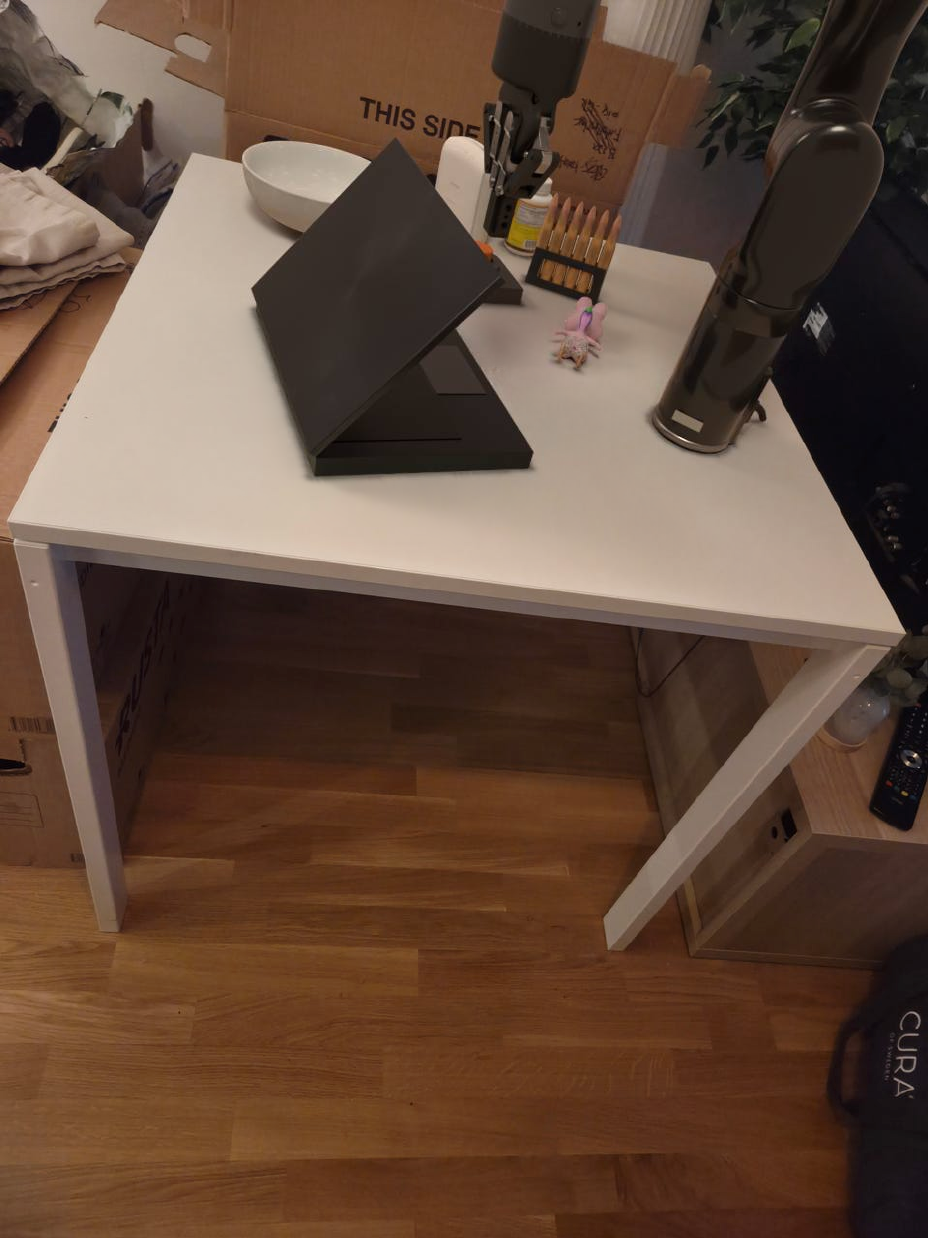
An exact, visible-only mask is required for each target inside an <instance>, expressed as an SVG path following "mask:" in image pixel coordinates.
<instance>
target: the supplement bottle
mask: <svg viewBox="0 0 928 1238" xmlns="http://www.w3.org/2000/svg"><path fill="white" fill-rule="evenodd" d="M552 185H553V179H552V178H551V177H549V178H548V179H547V180H546V182H545V183H544V184H543V185H542V186H541V188H540V189H539V190H538V191H537V193H536V194H535V195H534V196H533V198H532V199H519V200H518V201H517V205H516V209H515V213H514V217H513V220H512V224H511V228H510V232H509V235H508V236H507V237H506V238H503V245H504V247H505V248H506V249H507V251H509V252H511V253H512V254H515V255H517V256H521V257H533V254H534V250H535V247H536V243H537V240H538V236H539V233H540V229H541V226H542V224H543V222H544V219H545V216H546V214H547V211H548V208H549V205H550V203H551V200H552V199H553V197H554V196H553V195H552V194H551V189H552Z"/></svg>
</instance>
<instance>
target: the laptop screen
mask: <svg viewBox="0 0 928 1238" xmlns="http://www.w3.org/2000/svg"><path fill="white" fill-rule="evenodd" d="M505 283H506V282H505V280H504V279H503V277H502V276H501V275H500V273H499V272H498V271H497V269H496V268H495V267H494V266H493V264H492V263H491V262H490V260H489V259H488V258H487V256H486V255H485V254H484V252H483V251H482V250H481V248H480V247H479V246H478V244H477V243H476V242H475V240H474V239H473V238H472V237H471V235H470V234H469V233H468V231H467V230H466V229H465V227H464V226H463V225H462V223H461V222H460V221H459V219H458V218H457V217H456V215H455V214H454V213H453V211H452V210H451V209H450V208H449V206H448V205H447V204H446V202H445V201H444V200H443V198H442V197H441V196H440V194H439V193H438V192H437V190H436V189H435V186H434V185H433V184H432V183H431V181H430V180H429V178H428V177H427V176H426V174H425V173H424V172H423V170H422V169H421V168H420V167H419V165H418V163H416V162H415V160H414V158H412V156H411V155H410V154H409V152H408V151H407V150H406V148H405V147H404V146H403V145H402V143H401V142H400V140H399V139H398V138H397V137H396V136H395V137H393V139H392V140H391V141H390V142H389V143H388V144H387V145H386V146H385V147H384V149H382V150H381V152H379V154H377V155H376V157H375V158H373V160H372V161H371V163H370V164H369V165H368V166H367V167H366V168H365V169H364V170H363V172H362V173H361V174H360V175H359V176H358V177H357V178H356V179H355V180H354V181H353V182H352V183H351V184H350V185H349V186H348V187H347V188H346V189H345V190H344V191H343V192H342V194H341V195H340V196H339V197H338V198H337V199H336V200H335V201H334V202H333V203H332V204H331V205H330V206H329V207H328V208H327V209H326V210H325V211H324V212H323V213H322V214H321V216H320V217H319V218H318V219H317V220H316V221H315V222H314V223H313V224H312V225H311V226H310V227H309V228H308V229H307V230H306V231H305V232H302V234H301V235H300V236H299V237H298V238H297V240H296V241H295V242H294V243H292V245H290V247H289V248H288V249H287V250H286V251H285V252H284V253H283V254H282V255H281V256H280V257H279V258H278V259H277V260H276V261H275V262H274V263H273V265H272V266H271V267H270V268H269V269H267V271H266V272H265V273H264V274H263V275H262V276H261V277H260V278H259V279H258V280H257V281H256V283H254V284H253V286H251V288H250V290H251V294H252V295H253V299H254V301H255V305H256V304H257V307H258V310H259V313H260V316H261V318H262V321H263V324H264V327H265V330H266V332H267V335H268V338H269V341H270V344H271V346H272V349H273V352H274V355H275V358H276V361H277V363H278V366H279V369H280V372H281V375H282V377H283V380H284V383H285V386H286V389H287V391H288V394H289V397H290V400H291V403H292V406H293V408H294V411H295V414H296V417H297V420H298V422H299V425H300V428H301V431H302V434H303V436H304V439H305V442H306V445H307V448H308V450H309V453H310V454H311V455H313V456H314V457H316V456H318V455H319V454H320V453H321V452H322V451H323V450H324V449H325V448H326V447H327V446H328V445H330V444H331V443H332V442H333V441H334V440H335V439H336V438H337V437H338V436H339V435H340V434H341V433H343V432H344V431H345V430H346V429H347V428H348V427H349V426H350V425H351V424H352V423H353V422H355V421H356V420H357V419H358V418H359V417H360V416H361V415H362V414H363V413H364V412H365V411H367V410H368V409H369V408H370V407H371V406H372V405H373V404H374V403H375V402H376V401H377V400H379V399H380V398H381V397H382V396H383V395H384V394H385V393H386V392H387V391H388V390H389V389H390V388H392V387H393V386H394V385H395V384H396V383H397V382H398V381H399V380H400V379H401V378H402V377H404V376H405V375H406V374H407V373H408V372H409V371H410V370H411V369H412V368H413V367H414V366H416V365H417V364H418V363H419V362H420V361H421V360H422V359H423V358H424V357H425V356H426V355H427V354H429V353H430V352H431V351H432V350H433V349H434V348H435V347H436V346H437V345H438V344H439V343H441V342H442V341H443V340H444V339H445V338H446V337H447V336H448V335H449V334H450V333H451V332H453V331H454V330H455V329H456V330H457V328H458V327H459V326H460V325H462V324H463V323H464V322H465V321H466V320H467V319H468V318H469V317H470V316H471V315H472V314H474V313H475V312H476V311H477V310H478V309H479V308H480V307H481V306H482V305H483V304H485V303H484V302H485V301H486V300H487V299H488V298H490V297H491V296H492V295H493V294H494V293H495V292H496V291H497V290H498V289H499V288H500V287H501V286H503V285H504V284H505Z"/></svg>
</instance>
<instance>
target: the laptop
mask: <svg viewBox="0 0 928 1238" xmlns="http://www.w3.org/2000/svg"><path fill="white" fill-rule="evenodd" d="M255 305H256V306H255V312H256V314H257V317H258V319H259V322H260V326H261V328H262V331H263V334H264V336H265V339H266V342H267V346H268V348H269V351H270V353H271V356H272V359H273V362H274V365H275V368H276V371H277V373H278V374H277V375H278V376H279V379H280V382H281V385H282V387H283V390H284V394H285V397H286V399H287V402H288V405H289V408H290V411H291V413H292V417H293V420H294V422H295V425H296V428H297V430H298V433H299V437H300V439H301V442H302V444H303V448H304V451H305V453H306V456H307V459H308V461H309V465H310V468H311V470H312V473H313V475H314V477H328V476H329V477H332V476H353V475H354V476H356V475H357V476H358V475H359V476H360V475H381V474H384V475H385V474H407V473H408V474H409V473H411V474H412V473H431V472H432V473H433V472H459V471H461V472H462V471H486V470H487V471H488V470H515V469H516V470H517V469H529V467H530V465H531V463H532V459H533V456H534V454H535V452H534V450H533V449H532V447H531V445H530V444H529V442H528V440H527V439H526V437H525V436H524V434H523V433H522V430H521V429H520V428H519V426H518V425H517V423H516V421H515V420H514V418H513V417H512V415H511V413H510V412H509V410H508V409H507V407H506V406H505V404H504V402H503V401H502V400H501V398H500V397H499V395H498V393H497V391H496V390H495V388H494V387H493V385H492V384H491V381H490V380H489V379H488V377H487V375H486V373H484V371H483V369H482V368H481V366H480V365H479V363H478V362H477V360H476V358H475V357H474V355H473V353H472V351H470V349H469V347H468V345H467V344H466V343H465V341H464V339H463V338H462V336H461V334H460V333H459V332H458V330H457V328H456V329H455V330H454V331H453V332H451V333H450V334H449V335H448V336H447V337H446V338H445V339H444V340H443V341H442V342H441V343H439V344H438V345H437V346H436V347H435V348H434V349H433V350H432V351H431V352H430V353H429V354H427V355H426V356H425V357H424V358H423V359H422V360H421V361H420V362H419V363H418V364H417V365H416V366H414V367H413V368H412V369H411V370H410V371H409V372H408V373H407V374H406V375H405V376H404V377H402V378H401V379H400V380H399V381H398V382H397V383H396V384H395V385H394V386H393V387H392V388H390V389H389V390H388V391H387V392H386V393H385V394H384V395H383V396H382V397H381V398H380V399H379V400H377V401H376V402H375V403H374V404H373V405H372V406H371V407H370V408H369V409H368V410H367V411H365V412H364V413H363V414H362V415H361V416H360V417H359V418H358V419H357V420H356V421H355V422H353V423H352V424H351V425H350V426H349V427H348V428H347V429H346V430H345V431H344V432H343V433H341V434H340V435H339V436H338V437H337V438H336V439H335V440H334V441H333V442H332V443H331V444H330V445H328V446H327V447H326V448H325V449H324V450H323V451H322V452H321V453H320V454H319V455H318V456H316V457H314V456H313V455H311V454H310V453H309V450H308V448H307V445H306V442H305V439H304V436H303V434H302V431H301V428H300V425H299V422H298V420H297V417H296V414H295V411H294V408H293V406H292V403H291V400H290V397H289V394H288V391H287V389H286V386H285V383H284V380H283V377H282V375H281V372H280V369H279V366H278V363H277V361H276V358H275V355H274V352H273V349H272V346H271V344H270V341H269V338H268V335H267V332H266V330H265V327H264V324H263V321H262V318H261V316H260V313H259V310H258V307H257V304H256V303H255Z"/></svg>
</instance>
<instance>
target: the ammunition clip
mask: <svg viewBox="0 0 928 1238" xmlns="http://www.w3.org/2000/svg"><path fill="white" fill-rule="evenodd" d="M552 197H553V199H552V200H551V203H550V205H549V208H548V211H547V214H546V216H545V219H544V222H543V224H542V226H541V229H540V233H539V236H538V240H537V243H536V247H535V250H534V254H533V256H531V259H530V260H531V261H530V264H529V266H528V269H527V272H526V276H525V278H524V283H525V284H529V285H531V286H534V287H537V288H541V289H543V290H546V291H549V292H553V293H556V294H557V295H561V296H565V297H567V298H570V299H573V300H576V301H578V300H579V299H580V298H582V297H588V298H590V299H591V301H592V306H593V307H594V306H595V305H596V304H597V303H599V298H600V295H601V292H602V288H603V285H604V282H605V279H606V276H607V273H608V270H609V268H610V265H611V263H612V259H613V256H614V254H615V251H616V245H617V242H618V236H619V234H620V231H621V226H622V222H623V217H622V216H623V215H622V214H621V213H620V214H619V215H617V217H616V218H615V220H614V222H613V224H612V226H611V228H610V231H609V234H607V235H608V236H607V238H606V240H605V242H604V238H605V235H606V231H607V228H608V224H609V217H610V211H609V209H606V210H605V212H603V214H602V216H601V218H600V220H599V222H598V225H597V227H596V230H595V232H594V235H593V237H592V239H591V236H592V232H593V227H594V226H595V225H594V224H595V220H596V213H597V206H596V205H593V206H592V208H590V210H589V212H588V214H587V216H586V218H585V221H584V224H583V227H582V229H581V232H580V234H579V230H580V227H581V222H582V218H583V213H584V201H580V203H578V205H577V207H576V209H575V211H574V214H573V216H572V219H571V222H570V224H569V227H568V229H567V225H568V220H569V217H570V213H571V207H572V206H571V205H572V198H571V196H569V197H567V199H566V200H565V202H564V204H563V205H562V208H561V211H560V213H559V216H558V219H557V222H556V224H555V226H554V223H555V220H556V214H557V210H558V207H559V194H558V192H556V193H555V194H554V195H553V196H552ZM578 235H579V236H578ZM603 243H604V244H603Z"/></svg>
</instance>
